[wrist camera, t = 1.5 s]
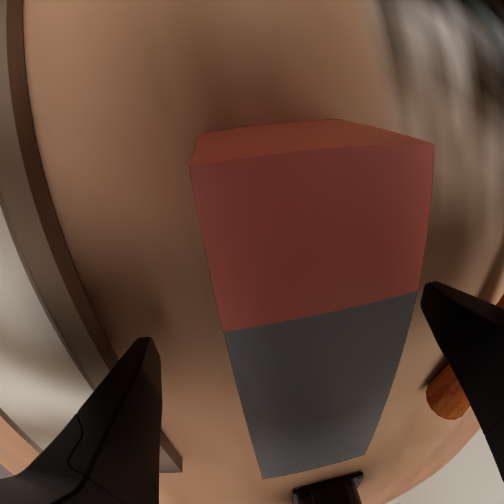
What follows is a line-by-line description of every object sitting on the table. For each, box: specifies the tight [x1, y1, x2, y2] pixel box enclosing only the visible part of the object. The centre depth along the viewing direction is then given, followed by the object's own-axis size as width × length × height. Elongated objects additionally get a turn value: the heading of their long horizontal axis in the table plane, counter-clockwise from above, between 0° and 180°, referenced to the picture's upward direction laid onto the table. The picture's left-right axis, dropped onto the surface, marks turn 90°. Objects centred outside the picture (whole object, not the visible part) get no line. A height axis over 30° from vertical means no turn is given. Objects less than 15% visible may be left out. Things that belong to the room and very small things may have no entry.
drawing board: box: [0, 0, 182, 473], centre depth 10 cm, size 24×10×1 cm, turn 7°
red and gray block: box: [189, 119, 434, 479], centre depth 9 cm, size 11×4×4 cm, turn 7°
